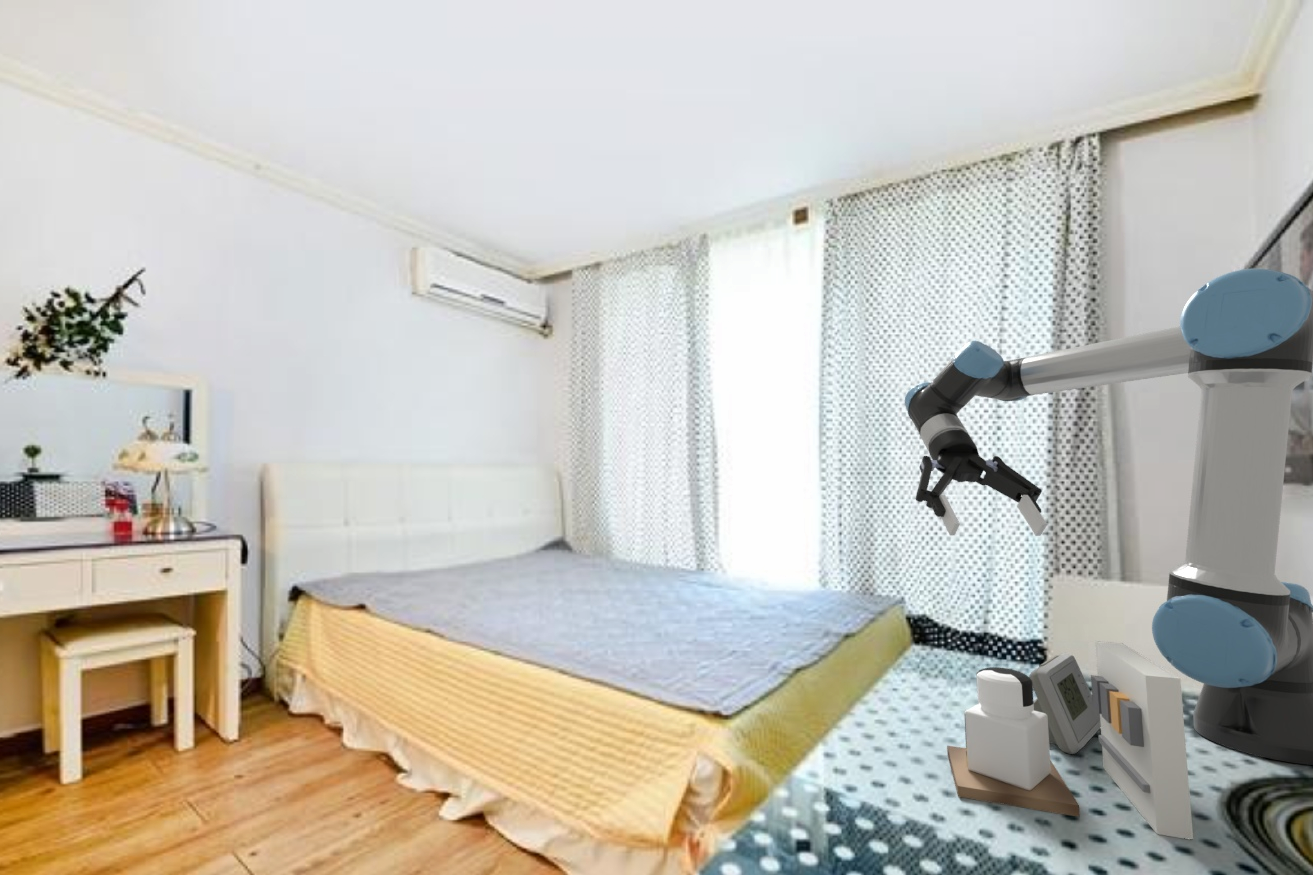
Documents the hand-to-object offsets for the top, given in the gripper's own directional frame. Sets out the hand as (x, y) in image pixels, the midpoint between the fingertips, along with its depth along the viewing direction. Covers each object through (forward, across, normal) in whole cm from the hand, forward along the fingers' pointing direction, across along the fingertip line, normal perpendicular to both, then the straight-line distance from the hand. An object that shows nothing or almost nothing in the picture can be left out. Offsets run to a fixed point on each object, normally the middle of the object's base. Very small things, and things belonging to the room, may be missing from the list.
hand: (998, 530), depth 93 cm
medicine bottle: (+33, +10, -7) cm, 35 cm away
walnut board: (+34, +11, -8) cm, 36 cm away
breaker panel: (+37, -3, -5) cm, 37 cm away
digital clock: (+24, -6, -18) cm, 31 cm away
